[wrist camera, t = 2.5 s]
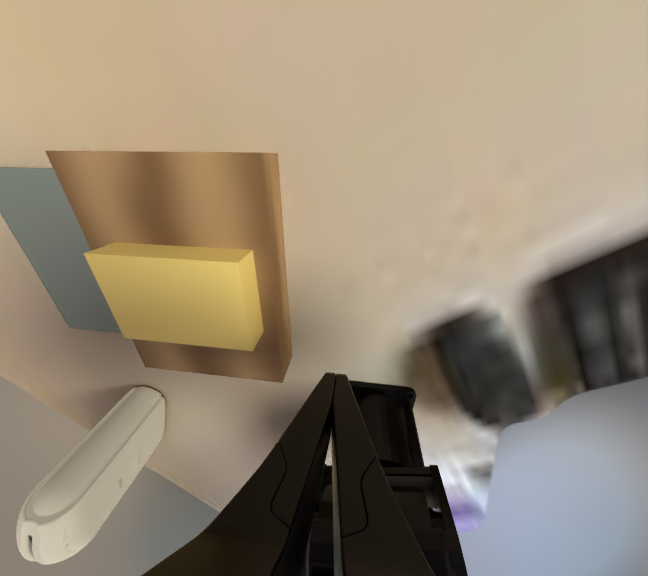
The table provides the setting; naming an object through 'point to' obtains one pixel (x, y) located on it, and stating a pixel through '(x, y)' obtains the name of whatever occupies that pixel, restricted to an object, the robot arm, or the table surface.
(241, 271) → the pale yellow foam brick
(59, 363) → the table surface
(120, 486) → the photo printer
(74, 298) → the mat
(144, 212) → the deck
